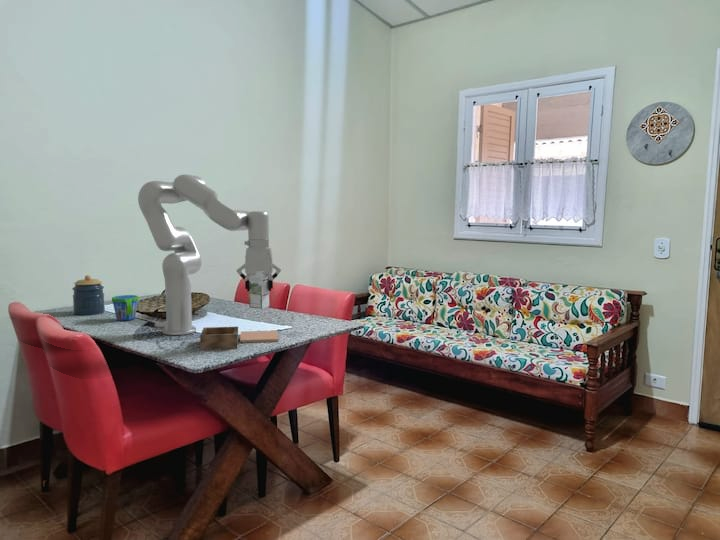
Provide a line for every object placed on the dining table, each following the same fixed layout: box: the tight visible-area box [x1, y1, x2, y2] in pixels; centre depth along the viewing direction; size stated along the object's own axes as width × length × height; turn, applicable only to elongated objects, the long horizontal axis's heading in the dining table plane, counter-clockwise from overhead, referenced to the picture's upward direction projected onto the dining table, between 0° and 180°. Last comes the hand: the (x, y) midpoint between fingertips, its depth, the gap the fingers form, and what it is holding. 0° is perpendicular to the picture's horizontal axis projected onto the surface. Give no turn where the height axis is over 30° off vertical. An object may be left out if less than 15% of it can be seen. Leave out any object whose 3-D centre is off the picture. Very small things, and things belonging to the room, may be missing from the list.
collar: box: [199, 326, 239, 350], centre depth 183 cm, size 12×12×5 cm
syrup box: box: [248, 271, 270, 310], centre depth 192 cm, size 6×6×14 cm
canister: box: [71, 274, 106, 316], centre depth 234 cm, size 13×13×18 cm
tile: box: [239, 329, 279, 344], centre depth 194 cm, size 14×14×1 cm
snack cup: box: [111, 294, 139, 322], centre depth 221 cm, size 16×10×10 cm
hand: (259, 290), depth 192 cm, fingers closed on syrup box, 7 cm apart
